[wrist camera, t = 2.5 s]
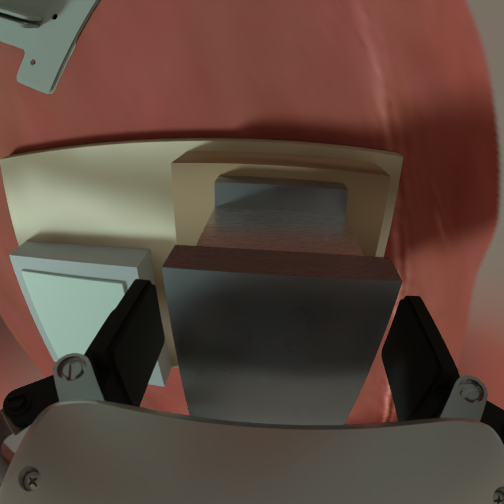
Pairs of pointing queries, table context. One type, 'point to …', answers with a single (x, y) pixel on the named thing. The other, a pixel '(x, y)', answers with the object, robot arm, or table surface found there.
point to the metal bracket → (43, 36)
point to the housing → (277, 305)
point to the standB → (80, 292)
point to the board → (137, 193)
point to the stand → (277, 166)
